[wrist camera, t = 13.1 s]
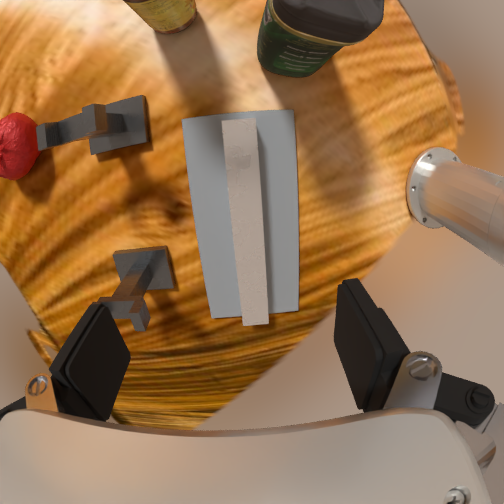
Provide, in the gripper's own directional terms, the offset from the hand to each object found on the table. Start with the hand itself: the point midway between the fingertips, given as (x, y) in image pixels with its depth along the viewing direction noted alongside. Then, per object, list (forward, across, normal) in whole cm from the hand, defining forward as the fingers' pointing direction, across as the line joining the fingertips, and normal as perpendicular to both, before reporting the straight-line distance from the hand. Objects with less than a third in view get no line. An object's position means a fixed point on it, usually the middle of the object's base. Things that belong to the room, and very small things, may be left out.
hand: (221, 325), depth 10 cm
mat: (+25, -1, +5) cm, 26 cm away
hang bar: (+24, -1, +5) cm, 25 cm away
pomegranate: (+25, +31, -13) cm, 42 cm away
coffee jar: (+26, -9, -18) cm, 32 cm away
